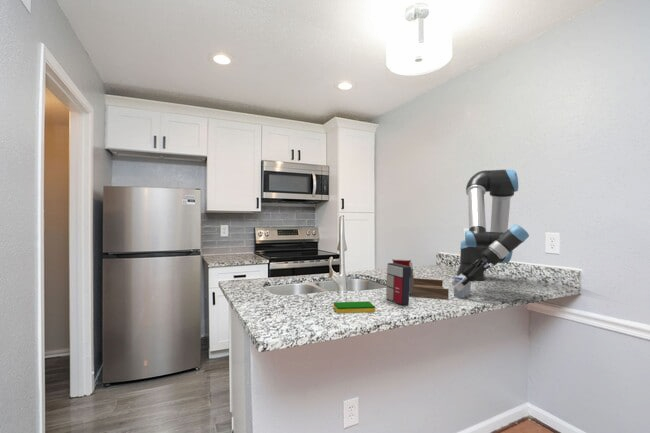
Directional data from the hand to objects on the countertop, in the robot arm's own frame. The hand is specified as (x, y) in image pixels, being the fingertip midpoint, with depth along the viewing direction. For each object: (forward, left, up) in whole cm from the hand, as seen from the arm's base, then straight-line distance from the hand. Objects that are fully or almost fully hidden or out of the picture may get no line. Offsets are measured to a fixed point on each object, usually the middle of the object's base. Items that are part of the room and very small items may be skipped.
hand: (454, 286), depth 138 cm
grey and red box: (+21, -25, -4) cm, 33 cm away
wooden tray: (-2, -12, -4) cm, 13 cm away
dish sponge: (+38, -40, -4) cm, 55 cm away
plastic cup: (-28, -24, -4) cm, 37 cm away
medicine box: (0, +3, -4) cm, 5 cm away
